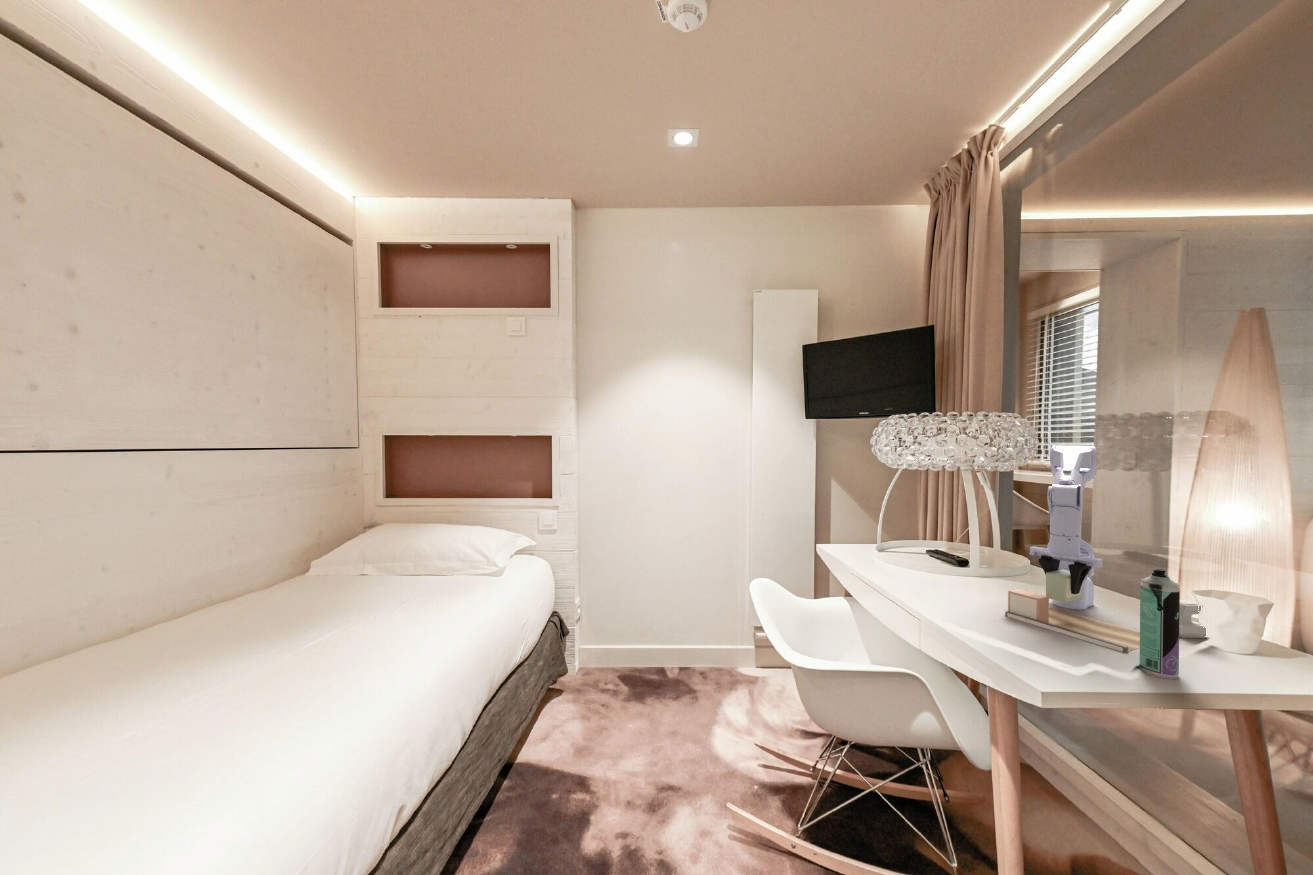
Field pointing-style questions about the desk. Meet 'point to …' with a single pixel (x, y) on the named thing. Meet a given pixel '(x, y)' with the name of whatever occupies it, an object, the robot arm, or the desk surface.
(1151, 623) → the spray can
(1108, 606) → the desk surface
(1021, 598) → the clay carton
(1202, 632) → the stamp
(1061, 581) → the sage carton
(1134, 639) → the shelf board
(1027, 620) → the rail
